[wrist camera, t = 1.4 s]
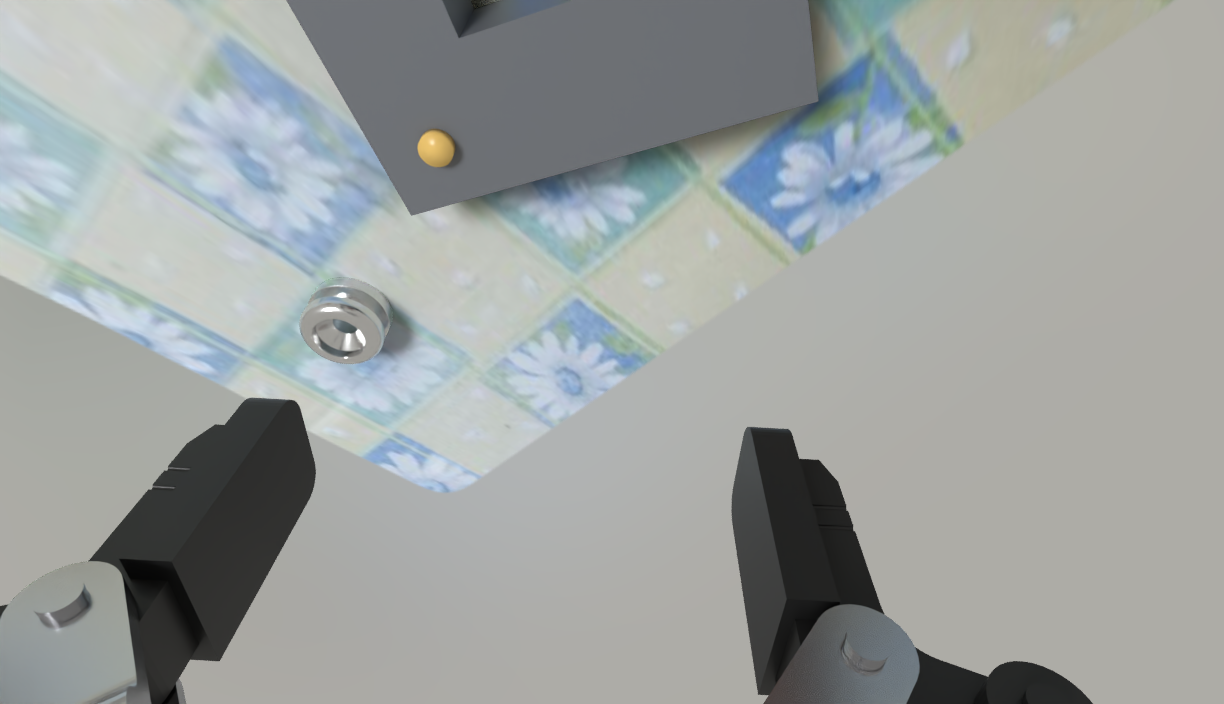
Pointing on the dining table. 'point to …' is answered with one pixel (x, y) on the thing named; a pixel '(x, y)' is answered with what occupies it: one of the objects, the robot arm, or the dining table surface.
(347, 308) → the metal grooved wheel
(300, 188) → the dining table surface
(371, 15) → the socket block
